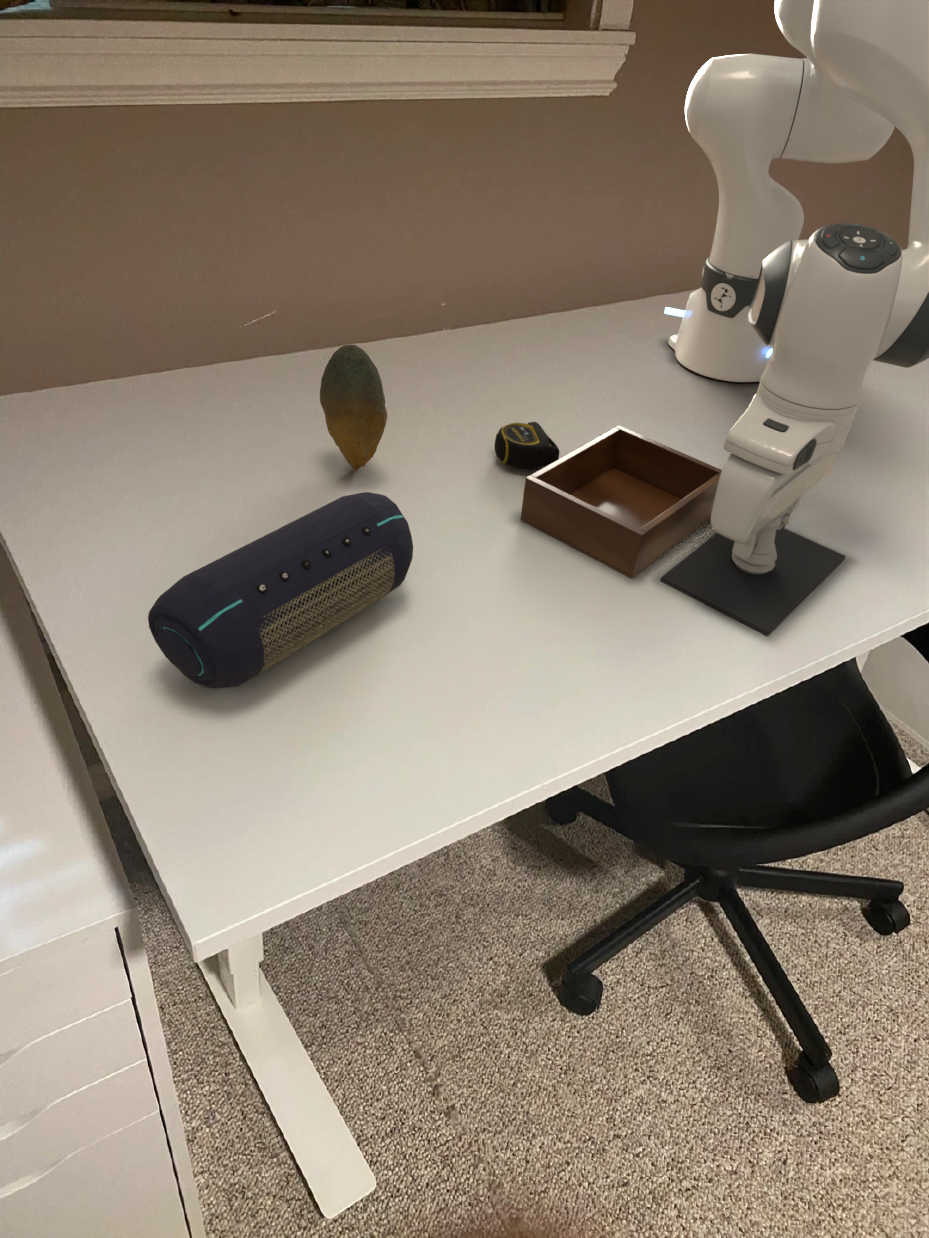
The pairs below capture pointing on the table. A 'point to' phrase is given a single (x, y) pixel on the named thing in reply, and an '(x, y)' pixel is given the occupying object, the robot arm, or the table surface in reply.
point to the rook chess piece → (762, 550)
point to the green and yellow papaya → (353, 404)
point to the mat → (754, 579)
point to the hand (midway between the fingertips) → (759, 539)
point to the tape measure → (525, 446)
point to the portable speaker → (282, 590)
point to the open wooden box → (621, 499)
